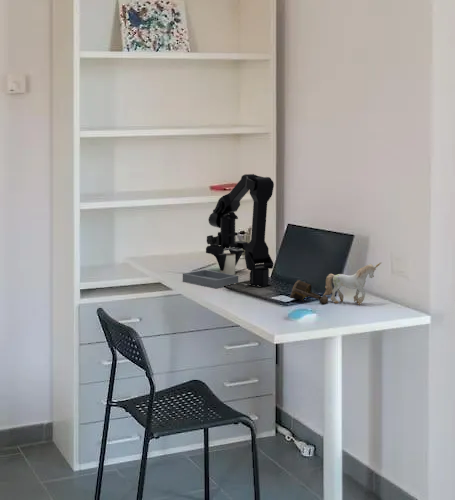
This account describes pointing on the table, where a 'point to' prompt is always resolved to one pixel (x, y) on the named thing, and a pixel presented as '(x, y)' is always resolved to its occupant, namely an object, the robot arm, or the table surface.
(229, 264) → the ceramic cup
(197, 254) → the table surface
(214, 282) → the desk tray
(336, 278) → the unicorn figurine
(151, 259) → the table surface
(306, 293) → the brown wooden mallet
